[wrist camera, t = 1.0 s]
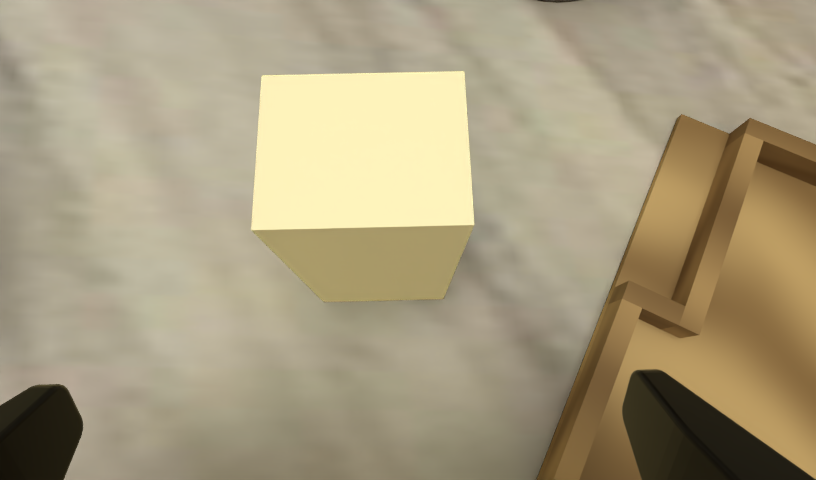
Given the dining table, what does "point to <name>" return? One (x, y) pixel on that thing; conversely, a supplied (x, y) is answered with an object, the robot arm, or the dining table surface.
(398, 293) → the panel block
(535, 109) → the dining table surface
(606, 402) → the keyhole frame
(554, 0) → the pillar candle
